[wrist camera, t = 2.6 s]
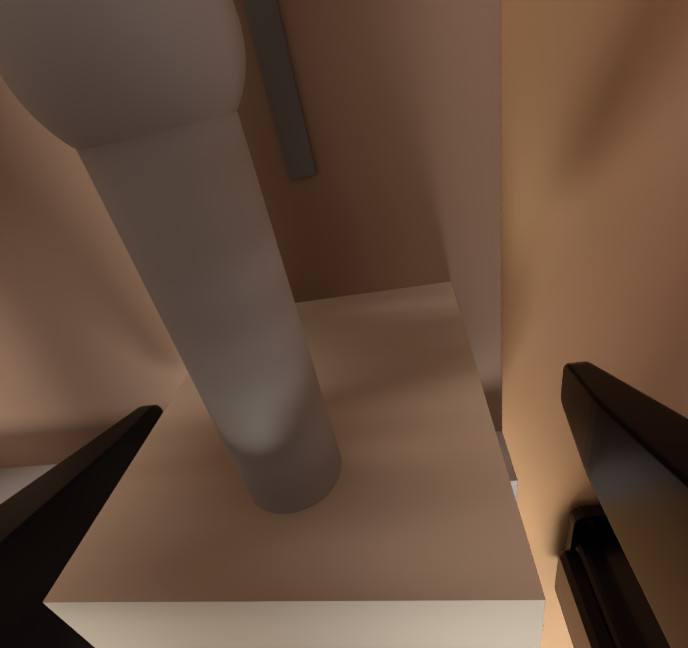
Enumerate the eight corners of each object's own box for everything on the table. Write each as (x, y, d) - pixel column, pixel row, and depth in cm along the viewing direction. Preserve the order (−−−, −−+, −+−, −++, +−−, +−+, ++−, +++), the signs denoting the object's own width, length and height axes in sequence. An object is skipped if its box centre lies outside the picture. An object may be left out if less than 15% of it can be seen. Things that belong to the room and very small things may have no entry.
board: (470, -156, 7) (539, -331, 4) (487, 423, 13) (516, 527, 10) (-369, 111, 10) (-677, 132, 7) (-24, 463, 17) (-111, 548, 14)
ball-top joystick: (426, -53, 6) (692, -808, 1) (461, 420, 11) (530, 748, 6) (114, 34, 7) (-715, -49, 2) (276, 435, 11) (189, 729, 6)
